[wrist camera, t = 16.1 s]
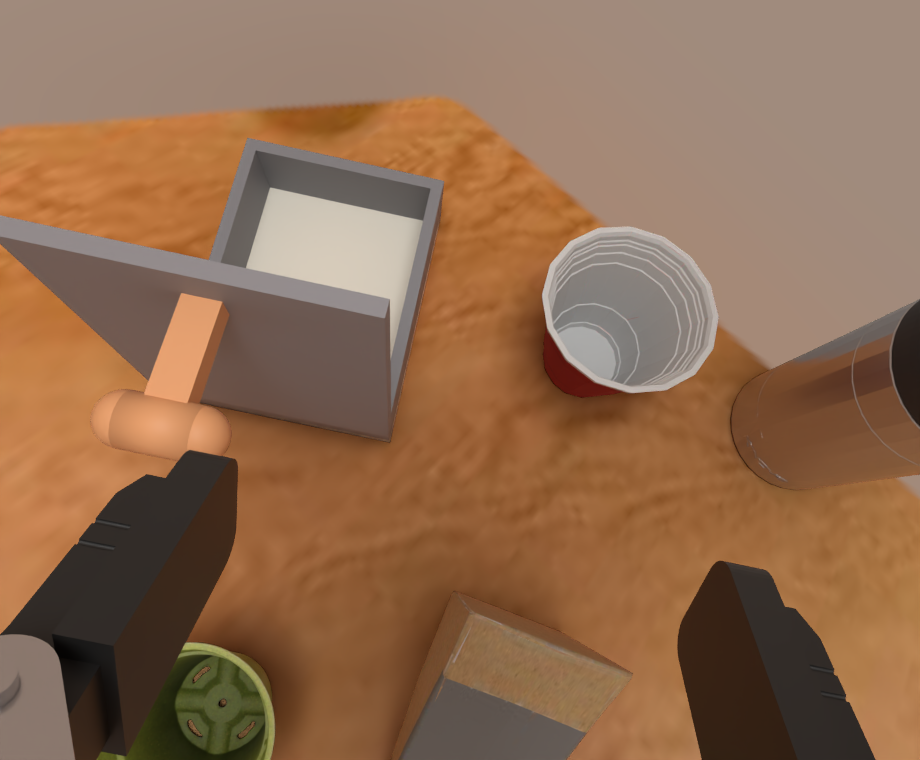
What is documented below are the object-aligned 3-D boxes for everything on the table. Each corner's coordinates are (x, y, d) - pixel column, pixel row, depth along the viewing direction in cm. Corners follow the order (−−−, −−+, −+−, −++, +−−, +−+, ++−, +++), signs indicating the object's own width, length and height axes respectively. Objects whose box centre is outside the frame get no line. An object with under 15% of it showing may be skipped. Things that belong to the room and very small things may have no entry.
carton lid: (-1, 215, 24) (-91, 395, 22) (389, 298, 24) (343, 485, 22) (162, 377, 41) (121, 488, 39) (391, 425, 41) (365, 537, 39)
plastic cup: (672, 332, 52) (749, 271, 40) (616, 454, 49) (681, 426, 38) (548, 268, 52) (589, 190, 41) (486, 385, 50) (511, 337, 38)
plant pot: (235, 593, 45) (195, 605, 37) (329, 699, 44) (310, 736, 35) (120, 700, 43) (51, 738, 34) (216, 814, 42) (168, 883, 33)
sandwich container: (363, 823, 42) (340, 969, 28) (449, 587, 46) (468, 608, 32) (489, 873, 42) (532, 1046, 28) (565, 633, 46) (637, 675, 32)
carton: (265, 182, 52) (247, 137, 46) (440, 221, 53) (444, 181, 47) (198, 402, 48) (169, 383, 42) (389, 442, 48) (387, 428, 42)
